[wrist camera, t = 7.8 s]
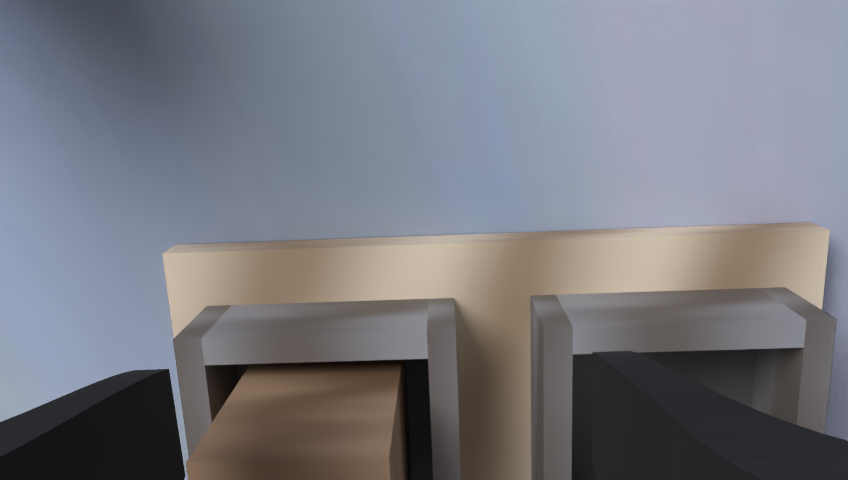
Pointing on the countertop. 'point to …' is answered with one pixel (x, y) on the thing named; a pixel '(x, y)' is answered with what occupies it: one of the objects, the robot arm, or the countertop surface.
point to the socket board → (512, 328)
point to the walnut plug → (310, 424)
